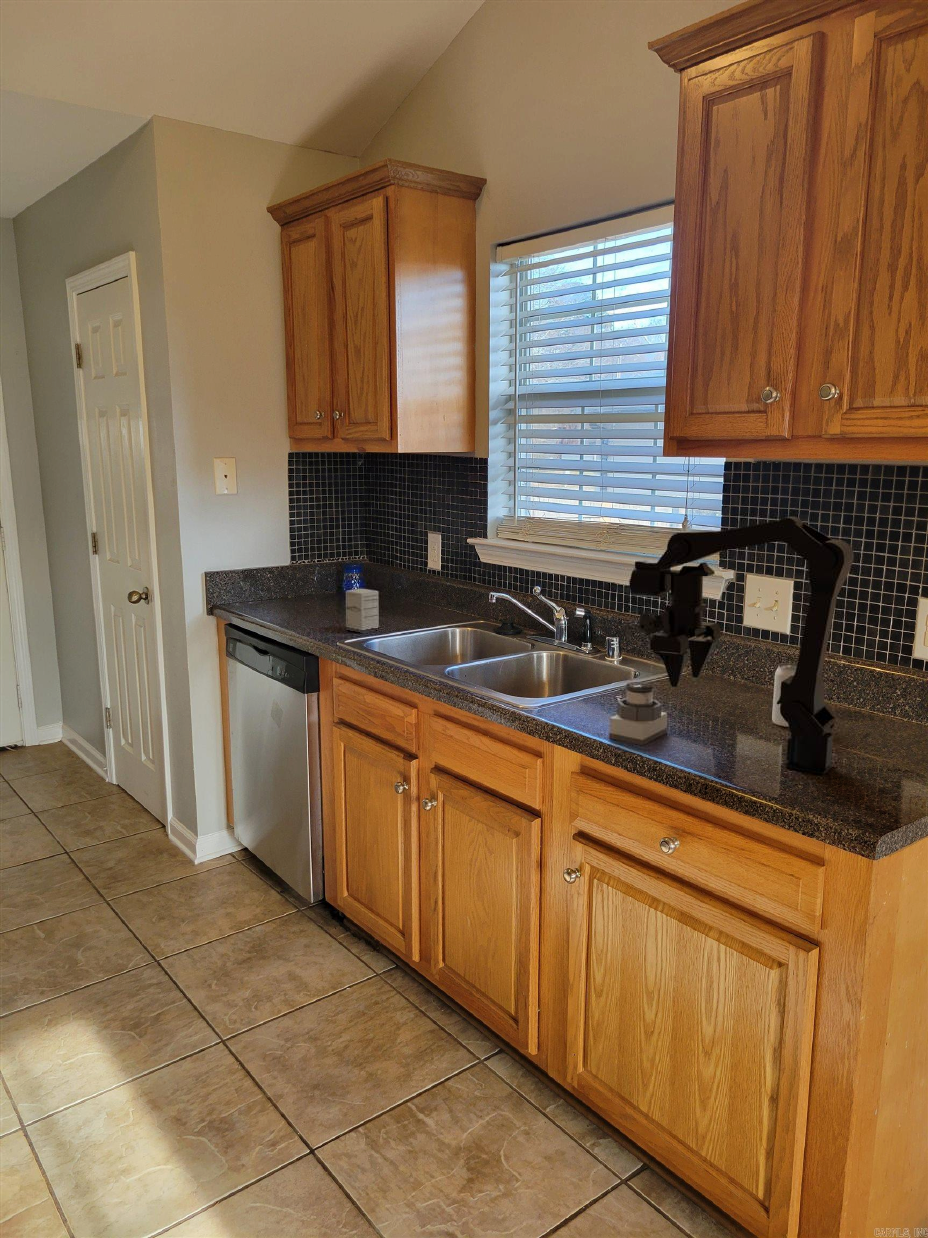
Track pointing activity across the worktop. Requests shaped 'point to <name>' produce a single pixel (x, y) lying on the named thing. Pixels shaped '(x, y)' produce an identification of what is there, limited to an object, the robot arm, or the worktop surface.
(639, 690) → the lens
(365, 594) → the beige wooden tall block
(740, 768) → the worktop surface
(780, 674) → the can
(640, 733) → the octagonal ring tray
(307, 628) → the worktop surface
